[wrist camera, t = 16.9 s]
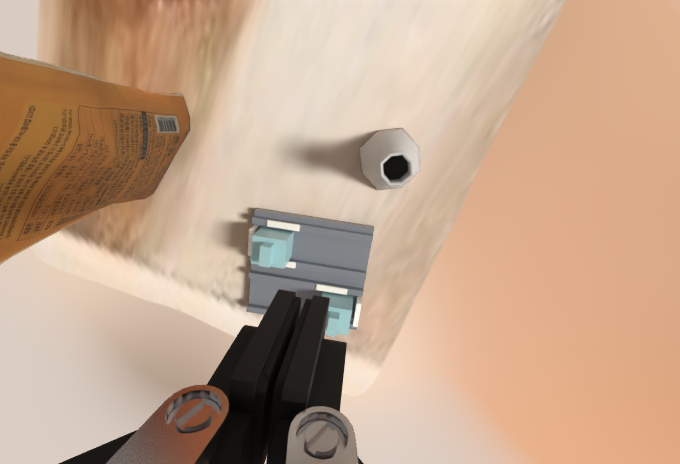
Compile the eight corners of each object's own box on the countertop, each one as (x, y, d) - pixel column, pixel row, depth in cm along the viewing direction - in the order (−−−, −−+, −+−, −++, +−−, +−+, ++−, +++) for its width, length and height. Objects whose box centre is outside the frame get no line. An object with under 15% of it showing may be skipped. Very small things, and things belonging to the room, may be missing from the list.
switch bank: (257, 208, 42) (249, 214, 39) (373, 226, 42) (374, 233, 39) (251, 306, 47) (243, 318, 44) (356, 324, 46) (355, 337, 43)
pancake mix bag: (220, 107, 39) (-93, 61, 13) (149, 229, 45) (-176, 376, 18) (171, 70, 38) (-273, -63, 12) (105, 198, 44) (-303, 305, 17)
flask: (373, 199, 41) (375, 220, 32) (349, 144, 39) (343, 149, 30) (429, 174, 40) (449, 189, 30) (406, 116, 38) (420, 112, 28)
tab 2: (323, 289, 44) (317, 311, 39) (353, 294, 44) (351, 317, 38) (320, 312, 45) (314, 337, 40) (349, 317, 45) (347, 342, 39)
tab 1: (262, 225, 42) (248, 239, 37) (294, 230, 42) (283, 245, 36) (261, 251, 43) (246, 268, 38) (291, 256, 43) (280, 274, 38)
